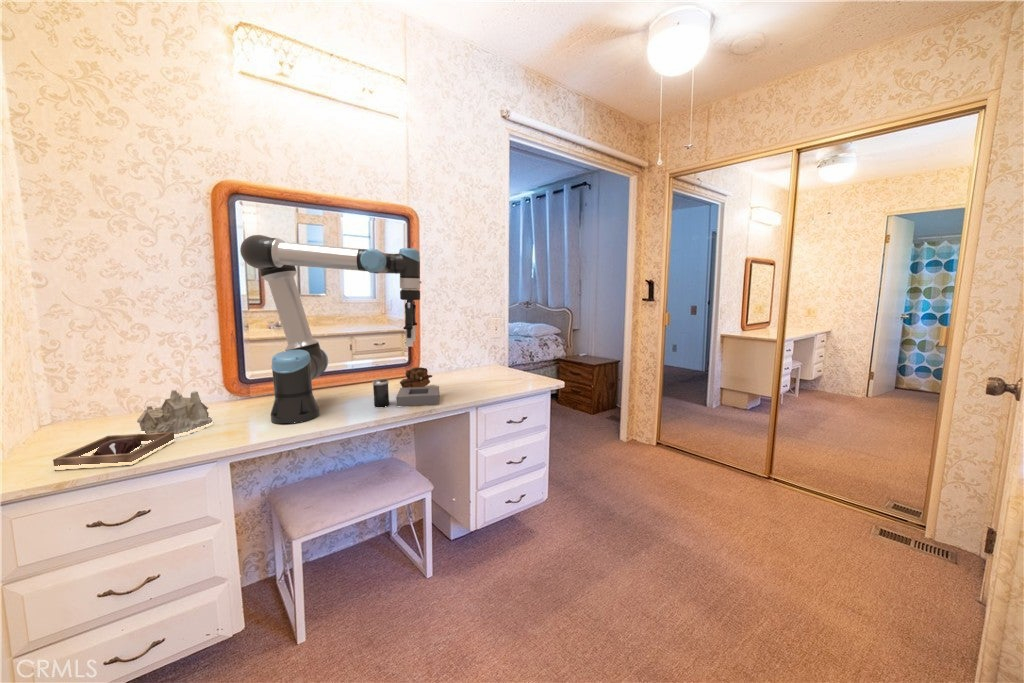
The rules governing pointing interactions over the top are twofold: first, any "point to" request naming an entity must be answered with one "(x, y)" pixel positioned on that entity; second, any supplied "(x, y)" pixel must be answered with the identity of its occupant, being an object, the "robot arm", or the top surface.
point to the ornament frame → (74, 458)
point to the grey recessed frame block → (418, 396)
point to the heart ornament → (118, 446)
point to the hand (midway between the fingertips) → (410, 343)
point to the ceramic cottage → (175, 415)
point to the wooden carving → (416, 378)
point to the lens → (381, 392)
